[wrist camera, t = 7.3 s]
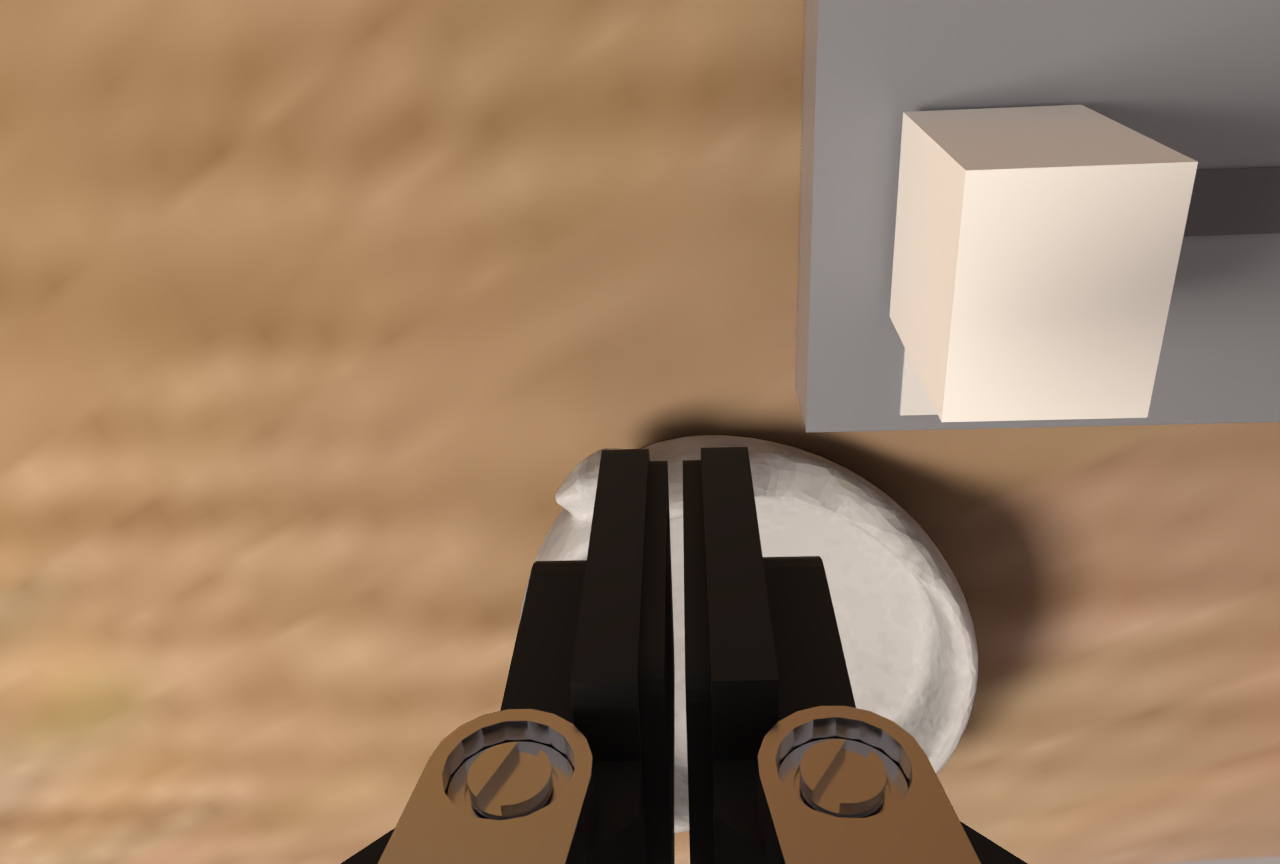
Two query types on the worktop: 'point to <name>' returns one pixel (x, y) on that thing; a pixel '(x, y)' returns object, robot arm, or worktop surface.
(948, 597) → the dish
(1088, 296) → the block
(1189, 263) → the breaker panel
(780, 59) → the worktop surface
